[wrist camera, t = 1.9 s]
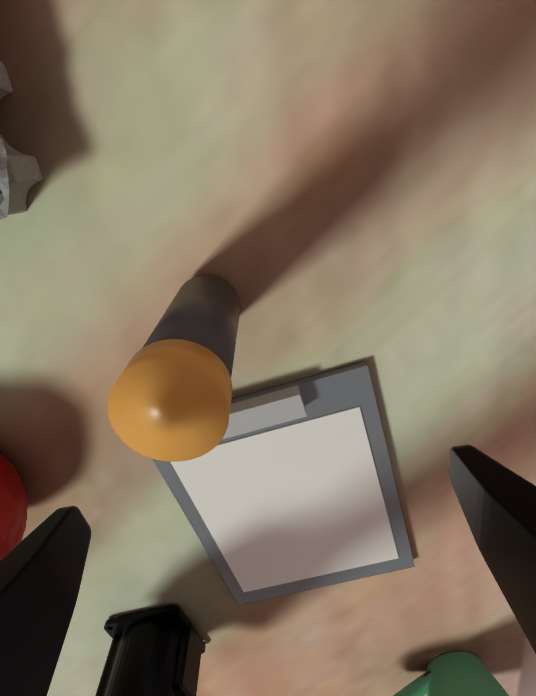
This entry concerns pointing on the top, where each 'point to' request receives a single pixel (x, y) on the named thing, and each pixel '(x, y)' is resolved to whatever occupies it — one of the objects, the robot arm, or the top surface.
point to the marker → (181, 376)
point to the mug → (454, 678)
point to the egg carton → (14, 167)
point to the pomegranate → (11, 507)
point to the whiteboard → (297, 489)
